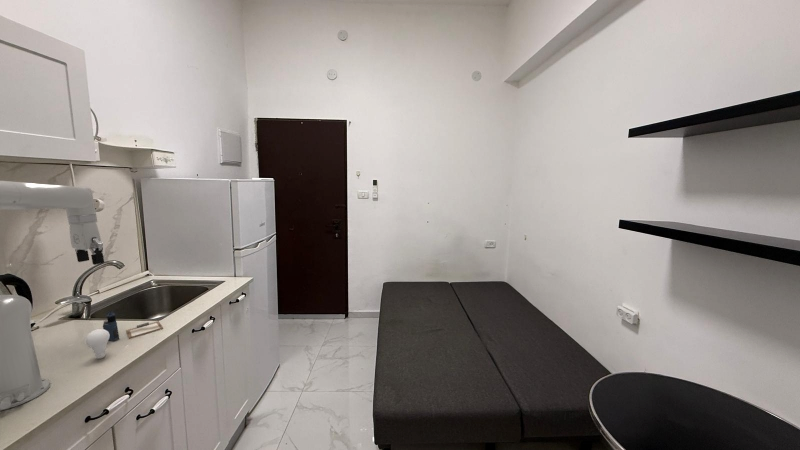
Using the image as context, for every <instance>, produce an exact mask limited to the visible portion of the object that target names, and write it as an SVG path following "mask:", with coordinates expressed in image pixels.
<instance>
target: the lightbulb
mask: <svg viewBox="0 0 800 450" xmlns="http://www.w3.org/2000/svg"><path fill="white" fill-rule="evenodd" d="M109 337H110V334H109V332H108V331H107V330H104V329H103V328H99V329H98V328H97V329H93V330H92V331H89V332H88V334H87V335H86V337H85V339H84V341H85V344H86V345H87V347H90V348H91V349H92V352H93V354H94V356H95V358H96V359H103V358H105V356H106V354H107V353H106V352H107V344H108V342H109V341H108V340H109Z"/></svg>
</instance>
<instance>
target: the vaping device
mask: <svg viewBox="0 0 800 450" xmlns="http://www.w3.org/2000/svg"><path fill="white" fill-rule="evenodd" d="M102 329H104V330H107V331H108V332H109V334H110V337H109V340H108V342H111V343H112V342H117V341H119V340H120V334H119V329H118V322H117V318H116V313H115V312H113V311H109V312H108V314H106V320H103V324H102Z"/></svg>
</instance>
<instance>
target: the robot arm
mask: <svg viewBox="0 0 800 450" xmlns="http://www.w3.org/2000/svg"><path fill="white" fill-rule="evenodd" d="M42 209H48V210H49V209H50V210H57V209H58V210H61V209H63V210H64V209H65V212H66V216H67V222H68V225H69V236H70V244H71V248H73V249H74V250H75V255H76V259H77V262H78V263H82V262H83V263H84V262H87V261H90V257H89V251H90V254H91V255H90V256H91V261H92V265H94V266H95V265H100V264H101V265H102V264H104V263H105V259H104V251H103V250H104V243H103V242H102V238H101V235H100V230H99V227H98V224H97V223H98V216H97V212H96V207H95V200H94V195H93V191H92V188H90V187H88V186H73V185H60V184H59V185H57V184H46V183H45V184H44V183H34V182H22V181H9V180H0V210H1V211H3V210H4V211H6V210H9V211H11V210H12V211H17V210H18V211H19V210H20V211H22V210H25V211H26V210H27V211H28V210H42ZM88 250H89V251H88ZM32 310H33V308H32V303H31V301H30V300H29V299H27V298H26V297H24V296H22V295H17V294H0V411H5V410H8V409H11V408H14V407H17V406H20V405H23V404H24V403H25V404H26V403H27V402H29V401H31V400H34V399H35V398H37V397H39V396H41V395H42V394H43V393H45V392H47V390H49V388H50V387H51V384H52V383H51V380H50V379H48V378H42V376H41V371H40V366H39V362H38V357H37V352H36V347H35V344H34V338H33V333H32V326H31V320H32V319H31V318H32Z"/></svg>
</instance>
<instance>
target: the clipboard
mask: <svg viewBox="0 0 800 450" xmlns="http://www.w3.org/2000/svg"><path fill="white" fill-rule="evenodd" d="M160 329H161V330H164V327H163V325H162V324H161V322H160V321H158V320H157V321H153V322H151V323H150V322H149V321H148V322H145V323H141V324H138V325H136V327H133V328H129V329H126V330H125V332H126V335H127V338H128V340H131V339H134V338H138V337H141V336H144V335H148V334H150V333H155V332H159V331H161V330H160Z"/></svg>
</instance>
